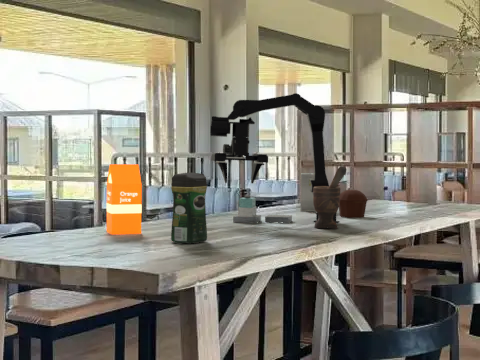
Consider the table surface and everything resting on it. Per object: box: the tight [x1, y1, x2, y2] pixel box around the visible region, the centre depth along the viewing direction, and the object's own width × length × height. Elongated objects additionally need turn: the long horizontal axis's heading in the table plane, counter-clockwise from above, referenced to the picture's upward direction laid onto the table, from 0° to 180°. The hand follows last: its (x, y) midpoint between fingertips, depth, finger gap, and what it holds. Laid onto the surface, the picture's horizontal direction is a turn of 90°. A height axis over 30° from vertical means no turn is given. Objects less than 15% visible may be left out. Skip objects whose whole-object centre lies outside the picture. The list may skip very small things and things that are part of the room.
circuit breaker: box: [299, 172, 315, 212], centre depth 320 cm, size 8×14×15 cm, turn 174°
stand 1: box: [232, 214, 262, 224], centre depth 268 cm, size 8×8×2 cm
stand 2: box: [264, 214, 293, 224], centre depth 269 cm, size 8×8×2 cm
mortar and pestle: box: [313, 165, 347, 230], centre depth 249 cm, size 12×9×20 cm
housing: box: [237, 195, 257, 217], centre depth 268 cm, size 7×5×7 cm
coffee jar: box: [170, 172, 208, 245], centre depth 209 cm, size 10×8×19 cm
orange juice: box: [106, 163, 143, 235], centre depth 230 cm, size 8×9×20 cm
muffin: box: [338, 189, 369, 219], centre depth 292 cm, size 12×11×10 cm
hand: (239, 183), depth 268 cm, fingers open, 9 cm apart
